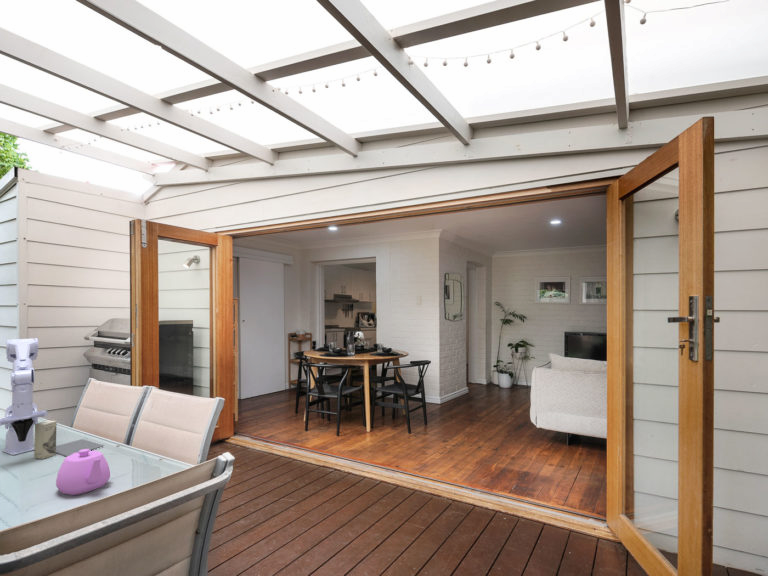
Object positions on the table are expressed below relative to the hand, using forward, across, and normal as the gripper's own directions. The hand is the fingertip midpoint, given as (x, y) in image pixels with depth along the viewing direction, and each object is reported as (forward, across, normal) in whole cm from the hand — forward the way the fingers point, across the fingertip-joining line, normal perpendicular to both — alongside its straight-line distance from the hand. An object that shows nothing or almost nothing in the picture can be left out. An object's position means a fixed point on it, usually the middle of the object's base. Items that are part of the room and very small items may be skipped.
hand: (21, 441), depth 153 cm
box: (+8, +7, 0) cm, 11 cm away
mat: (+8, +17, 0) cm, 19 cm away
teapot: (+8, 0, -44) cm, 45 cm away
